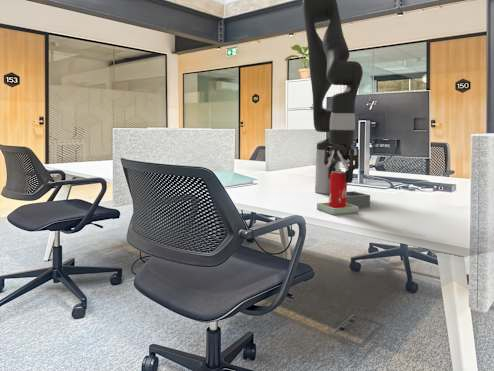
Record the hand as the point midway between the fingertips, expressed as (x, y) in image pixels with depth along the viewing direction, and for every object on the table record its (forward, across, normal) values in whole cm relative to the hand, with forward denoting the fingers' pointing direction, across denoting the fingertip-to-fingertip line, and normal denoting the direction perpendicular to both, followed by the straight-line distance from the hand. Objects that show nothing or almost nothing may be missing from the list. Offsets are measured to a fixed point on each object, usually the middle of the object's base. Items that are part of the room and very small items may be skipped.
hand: (339, 180), depth 129 cm
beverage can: (+9, 0, 0) cm, 9 cm away
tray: (+10, 0, 0) cm, 10 cm away
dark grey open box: (+10, +6, -10) cm, 15 cm away
